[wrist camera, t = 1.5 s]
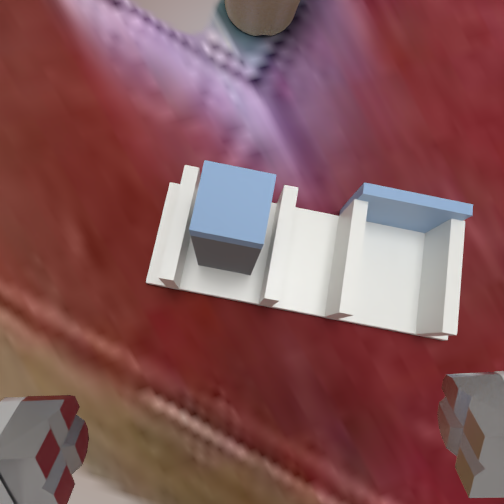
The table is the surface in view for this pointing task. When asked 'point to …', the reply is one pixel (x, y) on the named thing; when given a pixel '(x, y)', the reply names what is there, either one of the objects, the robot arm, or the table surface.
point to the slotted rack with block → (334, 259)
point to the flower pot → (261, 15)
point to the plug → (231, 216)
